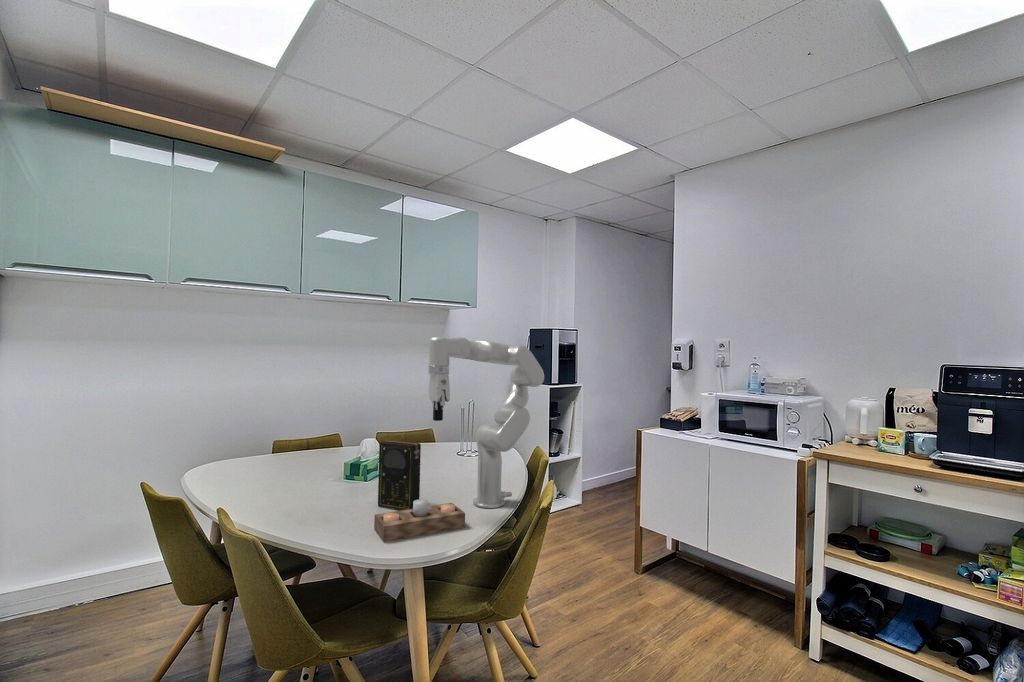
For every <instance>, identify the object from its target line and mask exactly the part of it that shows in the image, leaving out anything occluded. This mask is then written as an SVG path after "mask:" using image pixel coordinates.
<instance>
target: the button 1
mask: <svg viewBox="0 0 1024 682" xmlns="http://www.w3.org/2000/svg"><path fill="white" fill-rule="evenodd" d="M386 513H387V514H385V515H384V519H383V521H384V523H386V522H393V521H399V514H398V513H388V512H386Z"/></svg>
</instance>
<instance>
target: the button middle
mask: <svg viewBox="0 0 1024 682" xmlns="http://www.w3.org/2000/svg"><path fill="white" fill-rule="evenodd" d="M428 506H429V500H427V499H424V498H419V500H415V501H413V517H414V518H417V517H423V516H428Z"/></svg>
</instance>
